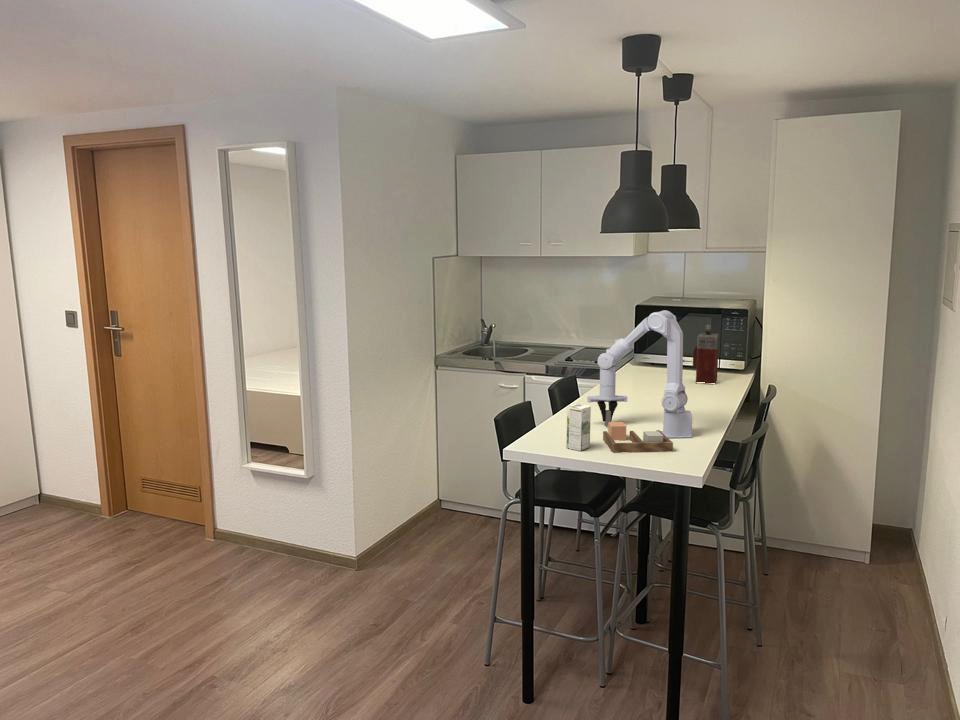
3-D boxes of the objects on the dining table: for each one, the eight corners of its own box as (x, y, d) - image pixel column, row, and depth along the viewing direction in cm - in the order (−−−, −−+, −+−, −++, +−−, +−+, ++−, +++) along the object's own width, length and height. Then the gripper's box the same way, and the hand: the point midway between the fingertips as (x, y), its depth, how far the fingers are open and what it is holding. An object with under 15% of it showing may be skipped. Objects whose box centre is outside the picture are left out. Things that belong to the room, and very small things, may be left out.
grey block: (657, 445, 245) (658, 431, 244) (662, 450, 239) (663, 435, 239) (643, 445, 245) (643, 431, 244) (647, 450, 239) (647, 435, 238)
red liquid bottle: (693, 379, 360) (695, 323, 355) (717, 381, 355) (719, 324, 351) (690, 383, 351) (692, 325, 347) (715, 384, 347) (717, 326, 343)
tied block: (613, 425, 272) (613, 409, 271) (626, 440, 252) (626, 423, 251) (600, 425, 272) (600, 410, 271) (611, 440, 251) (611, 423, 250)
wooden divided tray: (659, 438, 253) (659, 430, 253) (672, 451, 237) (672, 442, 237) (603, 439, 253) (603, 431, 252) (612, 452, 237) (612, 443, 236)
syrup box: (575, 445, 247) (575, 402, 244) (590, 447, 243) (591, 405, 241) (566, 448, 242) (566, 406, 240) (581, 451, 238) (581, 408, 236)
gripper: (624, 382, 273) (623, 417, 275) (586, 383, 273) (585, 418, 275) (629, 386, 266) (628, 422, 268) (589, 386, 266) (589, 423, 268)
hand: (607, 420), depth 271 cm, fingers closed on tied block
